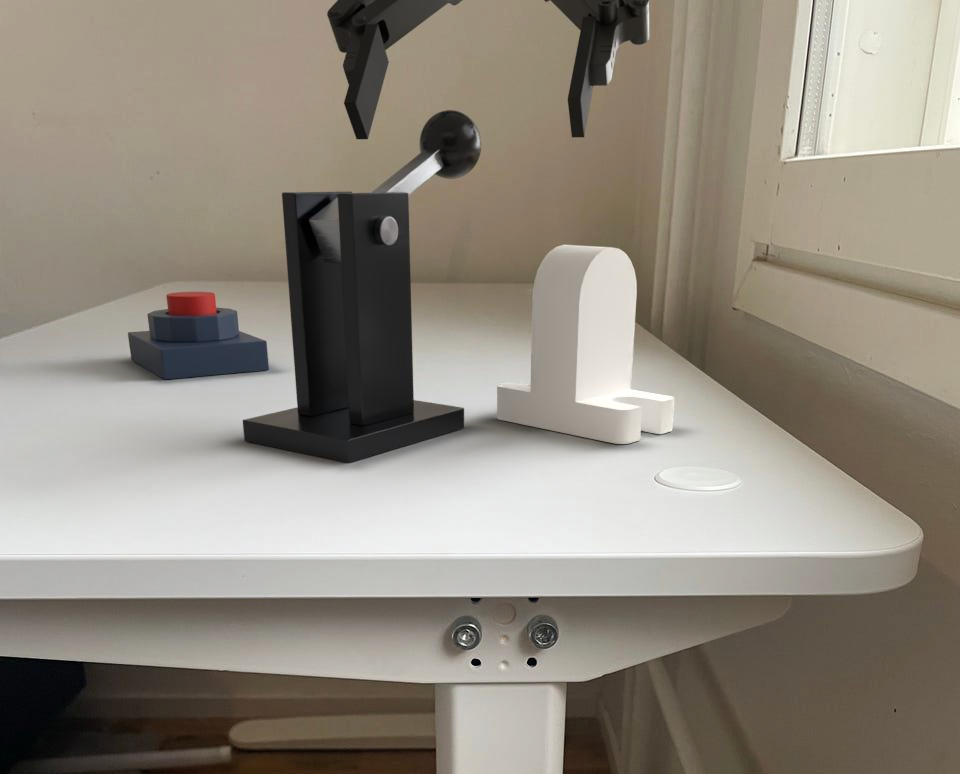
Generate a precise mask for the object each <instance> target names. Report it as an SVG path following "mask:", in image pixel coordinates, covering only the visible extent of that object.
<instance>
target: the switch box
mask: <svg viewBox="0 0 960 774" xmlns="http://www.w3.org/2000/svg"><path fill="white" fill-rule="evenodd" d="M216 310H217V313H216V314H209V315H195V316H177V315H169V314H168V308H165V309H164V308H163V309H157V310H153V311H150V312H148V313H147V314H146V315H147V323H148V329H149V330H141V331H140V330H139V331H138V330H137V331H128V332H127V337H128V344H129V352H130V353H129V354H130V360H131V361H133V362H134V363H136V364H138V365H139V366H141V367H143V368H144V369H146V370H148V371H150V372H151V373H153V374H155V375H156V376H158V377H159V378H161V379H163V380H165V381H166V380H177V379H188V378H198V377H209V376H210V377H211V376H220V375H230V374H242V373H253V372H254V373H255V372H263V371H269V370H270V366H269V354H268V342H267V340H265V339H263V338H260V337H257V336H254V335H251V334H249V333H246V332H243V331H241V330H240V328H239V318H238V311H237V310H235V309H232V308H227V307H216Z"/></svg>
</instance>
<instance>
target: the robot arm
mask: <svg viewBox="0 0 960 774" xmlns="http://www.w3.org/2000/svg"><path fill="white" fill-rule="evenodd" d="M462 1H463V0H336V1H335V2H334V4H333V5H332V6H331V7H330V8H329V9H328V10H327V13H326V16H327V19H328V21H329V24H330V28H331V30H332V33H333V36H334V40H335V42H336V45H337V48H338V50H339V52H341V53H344V54H345V56H344V59H343V63H342V68H343V72H344V75H345V78H346V80H347V84H348V87H347V91H346V94H345V97H344V101H343V104H344V108H345V110H346V114H347V116H348V119H349V122H350V125H351V128H352V130H353V133H354V136H355V140H369V136H370V132H371V129H372V127H373V122H374V118H375V115H376V111H377V107H378V105H379V104H378V103H379V101H380V100H379V99H380V96H381V93H382V89H383V85H384V82H385V79H386V78H385V77H386V74H387V72H388V71H387V70H388V66H389V63H390V61H389V58H388V54H387V50H388V49H390V48H391V47H392V46H393V45H395V44H396V43H397V42H399V41H400V40H401V39H403V38H404V37H405V36H407V35H408V34H409V33H410V32H412V31H413V30H415V29H416V28H417V27H418V26H420V25H421V24H423V23H424V22H425V21H427V20H428V19H429V18H431V17H432V16H433V15H434V14H436V13H437V12H439V11H440V10H441V9H442V8H444V7H445V6H446V5H448V4H450V5H451V6H457V5H458V4H460V3H461V2H462ZM543 1H544V2H545V3H548V2H549V1H550V2H551V3H552V4H553V5H554V6H555V7H556V8H557V9H558V10H559V11H560V12H561V13H562V14H563V15H564V16H565V17H566V18H567V19H568V20H569V21H570V22H571V23H572V24H573V25H574V26H575V27H576V28H577V29H578V30H579V37H578V43H577V48H576V54H575V57H574V63H573V69H572V73H571V78H570V85H569V89H568V94H567V95H568V96H567V107H568V115H569V124H570V125H569V126H570V133H571V135H570V136H571V138H585V135H586V130H587V126H588V125H587V124H588V120H589V112H590V108H591V102H592V97H593V90H594V87H597V86H599V87H600V86H602V87H603V86H604V87H605V86H606V87H607V86H609V84H610V82H611V80H612V79H613V74H614V72H613V71H614V67H615V61H616V56H617V50H618V49H619V47H620V45H622V44H624V43H626V42H630V43H631V44H633V45H637V46H640V45H644V44H647V42H648V41H649V40H650V0H543Z"/></svg>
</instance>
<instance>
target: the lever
mask: <svg viewBox="0 0 960 774" xmlns="http://www.w3.org/2000/svg"><path fill="white" fill-rule="evenodd" d="M419 152H420V153H418V154H417V155H416V156H415V157H414V158H413V159H411V160H410V161H408V162H407V163H406V164H405V165H404V166H402V167H401V168H400V169H398V170H397V171H395V173H394V174H392V175H391V176H390V177H389V178H387V179H386V180H384V181H383V182H382V183H381V184H380V185H379V186H378V187H376V188H375V189H374V190H373V191H371V192H370V193H378V192H408V197H409V196H410V195H411V194H413V193H414V192H415V191H416V190H418V189H419V188H421V186H422V185H424V184H425V183H426V182H427V181H428V180H429V179H431V178H432V177H433V176H434V175H436V176H438V177H440V178H443V179H448V180H454V179H458V178H462V177H464V176H466V175H467V174H469V173H470V172H471V171H472V170H473V169H474V168H475V167H476V165H477V163H478V161H479V159H480V157H481V153H482V136H481V133H480V130H479V128H478V126H477V125H476V123H475V122H474V120H473V119H471V117H469V115H468V114H465V113H464V112H461V111H460V110H455V109H445V110H441V111H438V112H436V113H434V114H433V115H432V116H431V117H430V118H429V119H427V121H426V122H425V123H424V125H423V127H422V130H421V132H420V135H419ZM309 223H310V225H311V228H312V231H313V233H314V236H315V238H316V241H317V244H318V246H319V249H320V252H321V254H322V257H323V260H324V262H330V263H341V250H340V231H339V212H338V197H337V198H336V199H335V200H333V201H332V202H331V203H330V204H328V205H327V206H326V207H324V208H323V209H322V210H321V211H319V212H318V213H317V214H316V215H314V216H313V217H312V218H310V219H309Z"/></svg>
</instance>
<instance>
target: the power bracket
mask: <svg viewBox="0 0 960 774" xmlns="http://www.w3.org/2000/svg"><path fill="white" fill-rule="evenodd" d="M337 197H338V212H339V231H340V250H341V263H330V262H324V260H323V257H322V254H321V252H320V249H319V246H318V244H317V241H316V238H315V236H314V233H313V231H312V228H311V225H310V223H309V219H310V218H312V217H313V216H314V215H316V214H317V213H318V212H319V211H321V210H322V209H323V208H324V207H326V206H327V205H328V204H330V203H331V202H332V201H333V200H335V199H336V198H337ZM281 201H282V203H281V204H282V215H283V229H284V230H283V231H284V243H285V256H286V271H287V284H288V296H289V297H288V299H289V311H290V323H291V325H290V326H291V337H292V338H291V340H292V353H293V365H294V366H293V367H294V379H295V392H296V393H295V394H296V404H297V407H292V408H289V409H285V410H279V411H276V412H272V413H266V414H262V415H259V416H254V417H249V418H246V419H242V429H243V440H244V442H248V443H252V444H258V445H261V446H267V447H272V448H277V449H281V450H287V451H291V452H296V453H299V454H305V455H311V456H315V457H320V458H324V459H329V460H330V459H331V460H334V461H338V462H339V461H340V462H344V463H352V462H356V461H359V460H362V459H366V458H369V457H372V456H376V455H378V454H382V453H385V452H388V451H392V450H396V449H398V448H401V447H402V448H403V447H405V446H408V445H412V444H415V443H418V442H421V441H426V440H428V439H431V438H435V437H438V436H442V435H445V434H448V433H451V432H455V431H458V430H461V429H464V428H465V408H464V407H460V406H455V405H448V404H441V403H434V402H429V401H422V400H416V399H415V398H414V397H415V396H414V395H415V394H414V363H413V362H414V360H413V359H414V356H413V355H414V354H413V324H412V323H413V322H412V321H413V319H412V284H411V283H412V280H411V278H412V277H411V246H410V245H411V242H410V237H411V236H410V203H409V196H408V192H378V193H371V192H352V191H341V190H339V191H289V192H288V191H287V192H286V191H285V192H281Z"/></svg>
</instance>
